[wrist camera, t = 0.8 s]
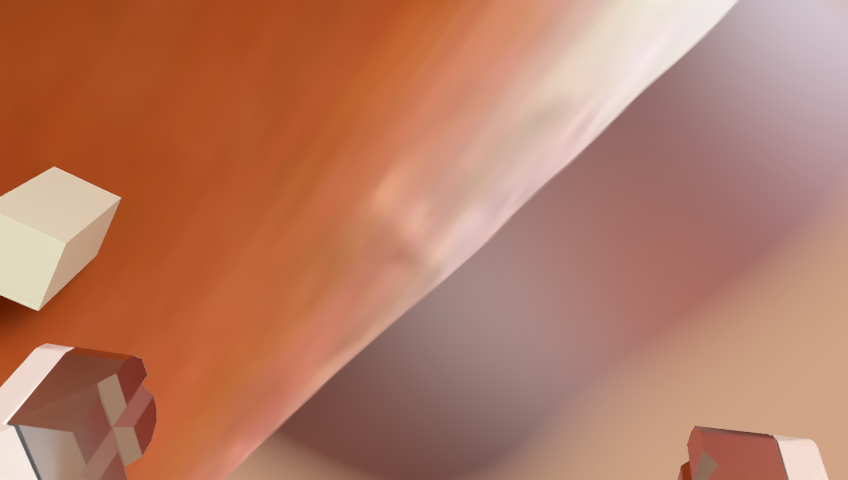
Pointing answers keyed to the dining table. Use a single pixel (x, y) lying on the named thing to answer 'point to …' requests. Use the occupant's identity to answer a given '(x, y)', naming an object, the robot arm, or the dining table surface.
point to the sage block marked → (50, 234)
